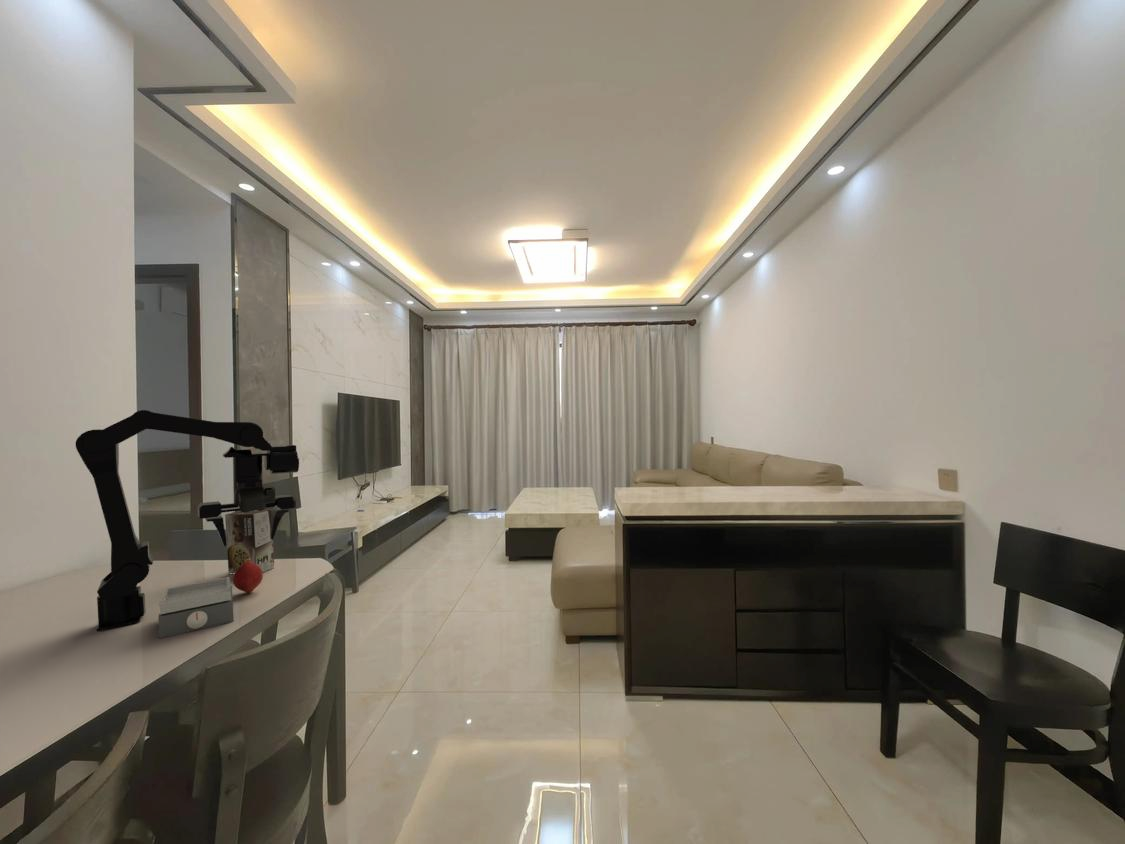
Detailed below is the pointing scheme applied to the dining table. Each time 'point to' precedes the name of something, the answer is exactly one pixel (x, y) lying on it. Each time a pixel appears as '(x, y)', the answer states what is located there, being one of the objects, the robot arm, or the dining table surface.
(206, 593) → the scale pan
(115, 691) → the dining table surface
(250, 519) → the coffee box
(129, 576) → the robot arm
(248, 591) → the onion
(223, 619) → the scale base
